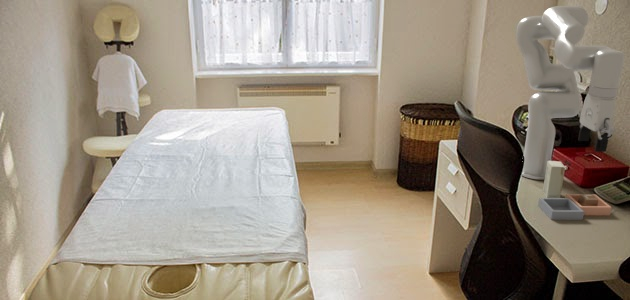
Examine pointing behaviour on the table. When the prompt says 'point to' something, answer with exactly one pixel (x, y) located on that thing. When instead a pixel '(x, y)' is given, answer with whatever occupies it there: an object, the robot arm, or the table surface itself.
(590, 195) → the letter cube
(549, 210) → the bin grey
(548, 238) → the table surface
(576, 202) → the bin terracotta
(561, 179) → the skincare box
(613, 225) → the table surface
